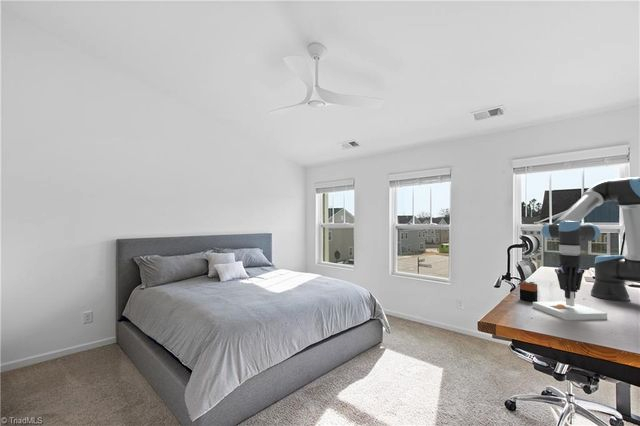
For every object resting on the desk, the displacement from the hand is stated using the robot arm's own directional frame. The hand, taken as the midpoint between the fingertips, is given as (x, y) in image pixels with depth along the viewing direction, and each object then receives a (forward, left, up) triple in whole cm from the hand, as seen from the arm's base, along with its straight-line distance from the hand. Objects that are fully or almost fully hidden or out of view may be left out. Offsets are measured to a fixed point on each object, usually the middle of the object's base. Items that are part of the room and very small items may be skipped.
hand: (570, 305), depth 136 cm
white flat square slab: (+1, 0, -3) cm, 4 cm away
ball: (+5, 0, -1) cm, 5 cm away
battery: (+4, -20, -4) cm, 21 cm away
